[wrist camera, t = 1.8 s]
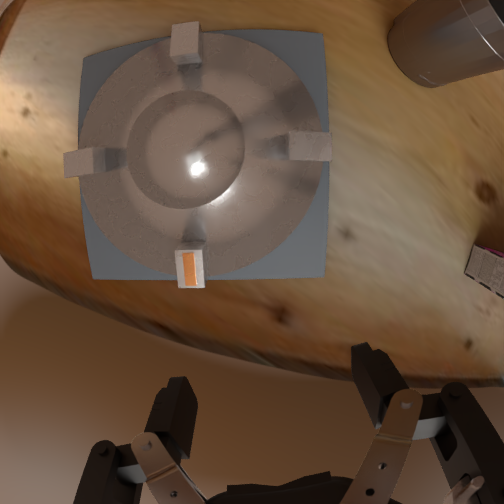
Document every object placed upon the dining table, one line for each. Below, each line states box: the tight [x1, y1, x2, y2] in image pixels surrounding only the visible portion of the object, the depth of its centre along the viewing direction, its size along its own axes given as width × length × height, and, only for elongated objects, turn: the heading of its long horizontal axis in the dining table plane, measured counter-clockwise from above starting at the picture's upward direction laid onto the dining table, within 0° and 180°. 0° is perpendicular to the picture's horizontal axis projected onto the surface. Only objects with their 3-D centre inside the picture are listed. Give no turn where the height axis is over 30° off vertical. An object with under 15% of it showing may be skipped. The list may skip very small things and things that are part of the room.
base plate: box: [78, 29, 329, 280], centre depth 26 cm, size 26×26×2 cm
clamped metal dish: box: [64, 21, 332, 288], centre depth 23 cm, size 24×24×4 cm
